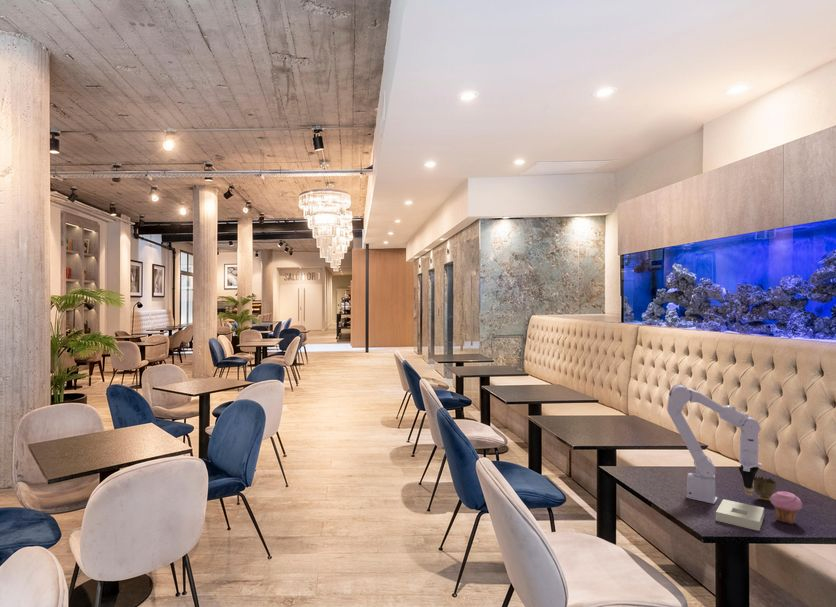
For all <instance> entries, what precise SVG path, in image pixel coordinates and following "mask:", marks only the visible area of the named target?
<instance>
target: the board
mask: <svg viewBox="0 0 836 607" xmlns="http://www.w3.org/2000/svg"><path fill="white" fill-rule="evenodd" d="M764 518H765V507H762V506H757V505H752V504H748V503H744V502H738V501H733V500H729V499H724V498H723V499H722V501H721V502H720V504H719V506H718V507H717V509H716V511H715V521H717V522H719V523H725V524H729V525H733V526H736V527H741V528H746V529H749V530H752V531H753V530H754V531H760V530H761V527H762V524H763V521H764Z"/></svg>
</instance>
